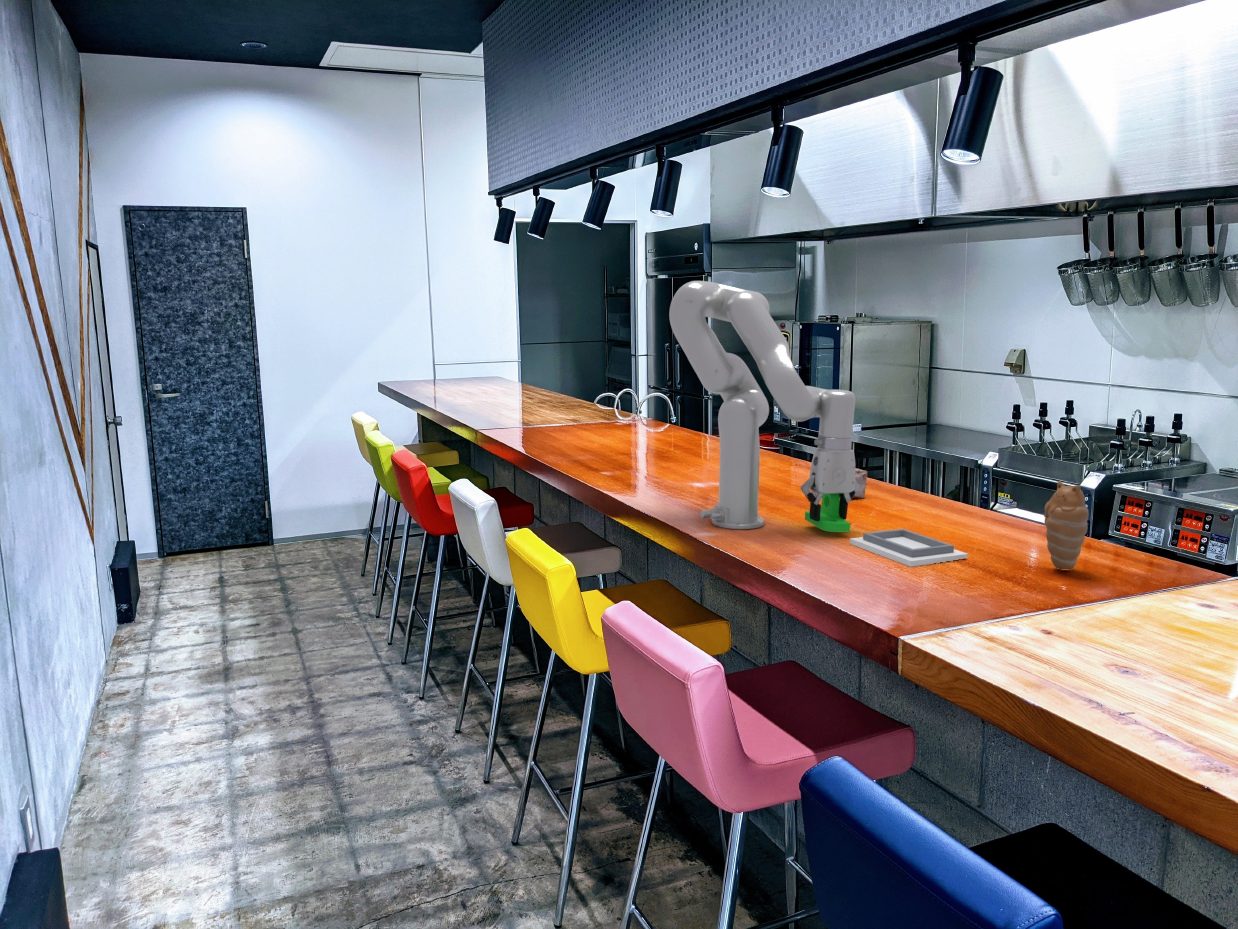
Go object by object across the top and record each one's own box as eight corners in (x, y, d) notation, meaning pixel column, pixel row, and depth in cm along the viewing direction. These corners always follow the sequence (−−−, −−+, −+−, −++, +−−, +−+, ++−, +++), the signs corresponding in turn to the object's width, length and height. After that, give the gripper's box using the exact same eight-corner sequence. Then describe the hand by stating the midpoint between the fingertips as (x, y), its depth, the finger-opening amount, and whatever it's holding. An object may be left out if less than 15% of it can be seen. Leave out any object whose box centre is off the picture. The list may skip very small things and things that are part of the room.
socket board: (910, 566, 189) (911, 553, 189) (849, 543, 208) (850, 531, 207) (967, 559, 195) (968, 546, 195) (903, 537, 213) (904, 526, 213)
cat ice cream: (1030, 567, 190) (1038, 480, 187) (1060, 563, 192) (1068, 477, 189) (1065, 578, 181) (1073, 488, 178) (1095, 575, 184) (1104, 485, 181)
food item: (870, 499, 256) (872, 464, 254) (845, 501, 253) (847, 465, 251) (842, 490, 268) (843, 456, 267) (818, 492, 266) (819, 457, 264)
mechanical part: (804, 519, 223) (807, 486, 222) (827, 518, 224) (830, 486, 223) (825, 532, 212) (828, 498, 210) (849, 531, 213) (852, 497, 211)
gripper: (812, 447, 207) (805, 525, 211) (875, 445, 214) (868, 520, 217) (793, 441, 214) (787, 517, 217) (855, 440, 221) (848, 513, 224)
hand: (827, 518), depth 217 cm, fingers closed on mechanical part, 6 cm apart
